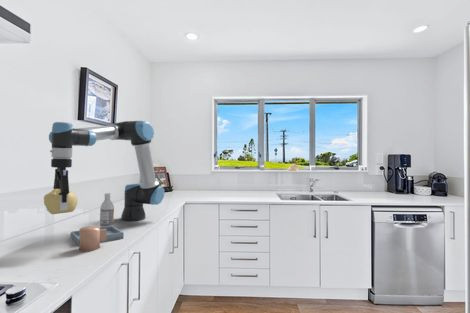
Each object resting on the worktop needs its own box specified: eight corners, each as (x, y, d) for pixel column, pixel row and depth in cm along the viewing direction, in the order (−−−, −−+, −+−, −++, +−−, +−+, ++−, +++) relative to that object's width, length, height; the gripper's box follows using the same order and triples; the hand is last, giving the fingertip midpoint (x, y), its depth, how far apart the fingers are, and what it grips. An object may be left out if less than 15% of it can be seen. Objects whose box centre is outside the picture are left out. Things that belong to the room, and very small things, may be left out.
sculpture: (52, 210, 123) (53, 186, 123) (81, 210, 125) (81, 186, 125) (38, 216, 112) (38, 189, 112) (70, 215, 113) (70, 189, 113)
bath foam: (113, 230, 152) (114, 194, 152) (99, 231, 149) (100, 194, 149) (113, 227, 158) (114, 192, 158) (99, 228, 155) (100, 192, 155)
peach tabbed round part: (77, 247, 122) (77, 227, 122) (103, 243, 129) (103, 224, 129) (81, 252, 116) (82, 231, 116) (108, 247, 123) (109, 227, 123)
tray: (112, 231, 149) (112, 225, 149) (123, 238, 137) (123, 232, 137) (70, 237, 136) (70, 231, 136) (78, 246, 124) (78, 239, 124)
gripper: (46, 157, 125) (45, 204, 125) (56, 158, 107) (55, 213, 107) (65, 157, 130) (64, 202, 130) (78, 159, 112) (77, 211, 112)
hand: (60, 207), depth 118 cm, fingers closed on sculpture, 12 cm apart
